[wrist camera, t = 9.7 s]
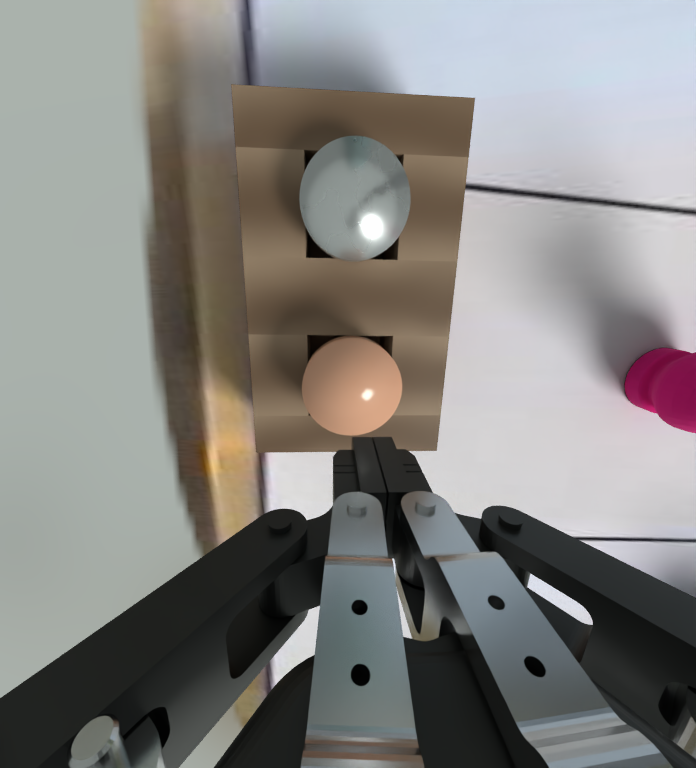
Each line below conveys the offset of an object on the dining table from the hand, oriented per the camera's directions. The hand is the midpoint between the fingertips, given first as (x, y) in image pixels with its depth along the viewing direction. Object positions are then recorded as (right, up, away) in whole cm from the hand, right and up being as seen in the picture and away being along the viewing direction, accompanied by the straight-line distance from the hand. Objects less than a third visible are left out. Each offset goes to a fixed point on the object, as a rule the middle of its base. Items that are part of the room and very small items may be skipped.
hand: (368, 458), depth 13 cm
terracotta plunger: (-1, +5, +15) cm, 16 cm away
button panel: (-1, +11, +16) cm, 20 cm away
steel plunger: (-1, +15, +13) cm, 20 cm away
